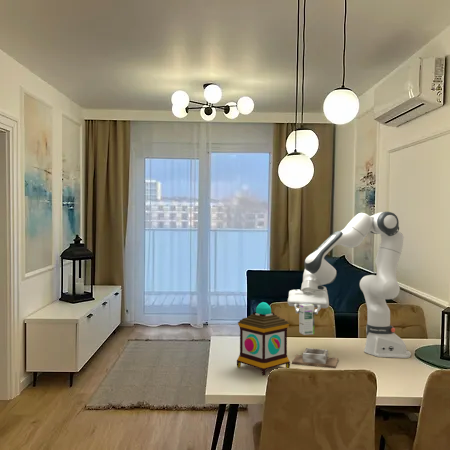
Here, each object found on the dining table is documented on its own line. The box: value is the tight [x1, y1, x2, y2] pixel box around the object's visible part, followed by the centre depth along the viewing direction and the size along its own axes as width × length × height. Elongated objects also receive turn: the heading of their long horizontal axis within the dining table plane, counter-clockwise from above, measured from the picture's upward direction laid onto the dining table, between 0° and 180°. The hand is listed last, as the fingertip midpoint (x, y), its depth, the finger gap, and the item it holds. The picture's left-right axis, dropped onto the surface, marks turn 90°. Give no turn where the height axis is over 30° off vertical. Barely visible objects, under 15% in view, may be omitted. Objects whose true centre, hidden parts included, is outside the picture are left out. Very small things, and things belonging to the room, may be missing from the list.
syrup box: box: [298, 304, 315, 336], centre depth 235 cm, size 6×6×14 cm
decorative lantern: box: [236, 301, 291, 377], centre depth 217 cm, size 20×20×30 cm
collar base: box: [291, 347, 339, 369], centre depth 227 cm, size 20×13×5 cm, turn 71°
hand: (306, 313), depth 234 cm, fingers closed on syrup box, 8 cm apart
